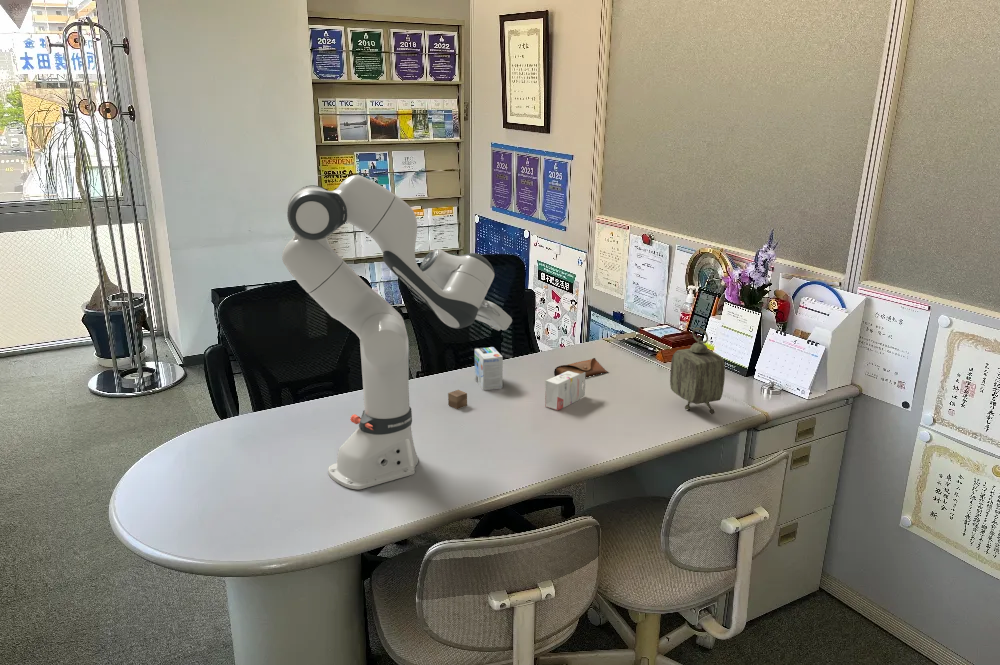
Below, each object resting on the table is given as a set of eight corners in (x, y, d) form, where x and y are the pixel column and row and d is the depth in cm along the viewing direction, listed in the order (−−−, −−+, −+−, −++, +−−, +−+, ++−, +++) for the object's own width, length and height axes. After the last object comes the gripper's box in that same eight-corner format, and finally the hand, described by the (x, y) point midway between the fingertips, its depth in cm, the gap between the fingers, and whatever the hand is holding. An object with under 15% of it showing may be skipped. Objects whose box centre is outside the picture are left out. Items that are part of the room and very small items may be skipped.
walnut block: (457, 409, 214) (456, 396, 213) (448, 405, 217) (448, 393, 216) (467, 405, 217) (467, 393, 216) (458, 401, 220) (458, 389, 219)
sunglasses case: (569, 382, 235) (563, 363, 236) (557, 387, 241) (551, 368, 242) (610, 372, 245) (604, 353, 246) (598, 377, 250) (592, 358, 251)
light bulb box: (474, 379, 238) (473, 348, 235) (493, 377, 240) (493, 346, 237) (483, 390, 229) (482, 358, 225) (503, 388, 231) (503, 356, 227)
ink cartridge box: (544, 406, 216) (572, 393, 227) (557, 411, 213) (585, 397, 224) (544, 379, 214) (573, 367, 224) (558, 383, 210) (587, 371, 221)
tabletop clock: (721, 415, 210) (729, 333, 202) (695, 420, 207) (702, 337, 199) (690, 398, 223) (697, 320, 215) (666, 402, 219) (671, 323, 212)
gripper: (498, 295, 177) (528, 327, 186) (452, 280, 193) (482, 310, 201) (483, 316, 176) (515, 346, 184) (438, 299, 192) (469, 328, 200)
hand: (497, 327), depth 193 cm, fingers closed
